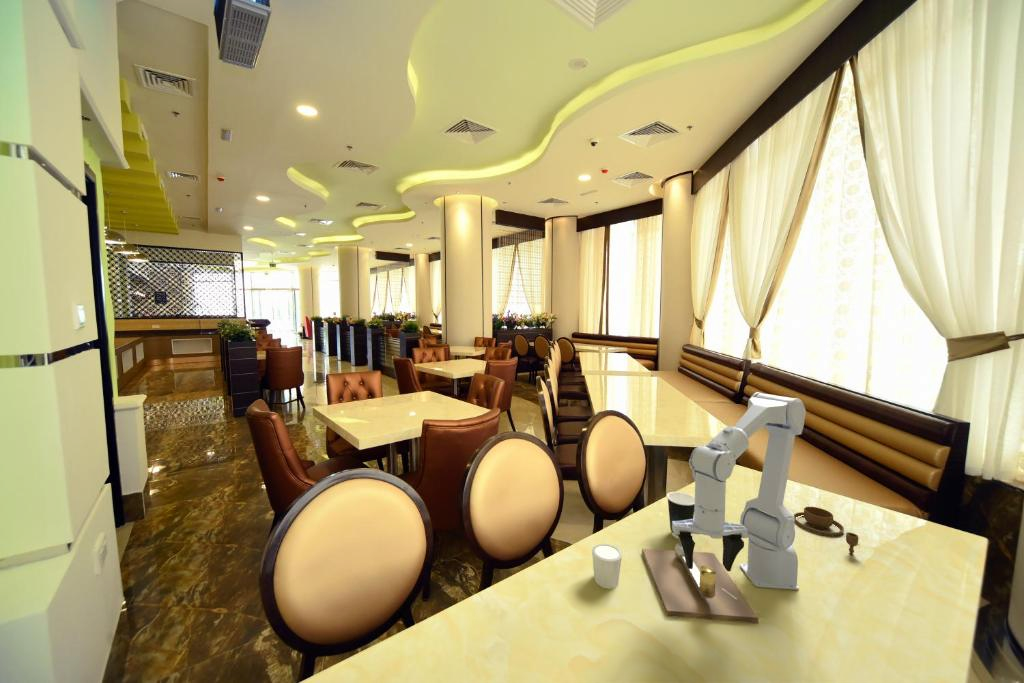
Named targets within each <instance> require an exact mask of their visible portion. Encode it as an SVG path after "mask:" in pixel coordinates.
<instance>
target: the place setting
mask: <svg viewBox="0 0 1024 683" xmlns="http://www.w3.org/2000/svg"><path fill="white" fill-rule="evenodd" d="M801 515H804V517H803V518H804V520H805V521H806V522H808V524H809V525H810V524H811V525H812V527H810V526H811V525H810V526H807V525H805V524H804V523H802V522H800V521H799V520H798V519H797V520H796V517H798V516H801ZM793 516H794V518H795V524H797V525H798V526H799V527H800V526H801V527H800V528H802V527H803V528H802V529H804V530H806V529H807V530H806V531H808V530H809V532H811V533H813V534H817V535H822V536H828V537H838V536H842V534H843V533H844V531H845V528H844V526H843V525H842V524H841V523H839V521H837V520H834V514H833V513H832V512H830V511H829V510H826V509H824V508H821V507H818V506H817V507H816V506H805V507H803V511H800V512H796V513H794V514H793ZM832 524H834V525H835V526H834V525H832ZM813 526H814V527H813ZM832 526H834V527H836V526H837V527H838V528H839V529H840V530H839V529H838V528H837V527H836V528H837V529H838V530H839V531H836V532H833V531H832V532H831V531H824V530H825V529H827V528H828V529H829V528H830V527H832ZM815 528H816V529H815ZM819 529H820V530H819ZM845 542H846V543H847V544H848V545H849V549H848V555H849V556H854V557H855V554H854V553H855V549H854V547H857V546H858V545H860V544H859V535H858V534H856V533H853V532H846V533H845Z"/></svg>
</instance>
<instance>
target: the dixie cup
mask: <svg viewBox="0 0 1024 683" xmlns="http://www.w3.org/2000/svg"><path fill="white" fill-rule="evenodd" d="M666 498H667V505H668V507H667V508H668V518H669V527H670V532H671V535H672V537H674V536H675V537H674V538H676V539H678V538H679V537H678V535H677V534H674V532H673V530H672V521H682V520H689V519H694V508H695V496H693V495H691V494H689V493H686V492H682V491H671V492H668V493H667V494H666Z"/></svg>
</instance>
